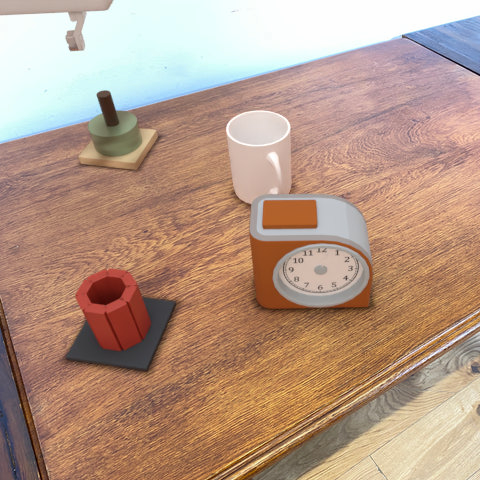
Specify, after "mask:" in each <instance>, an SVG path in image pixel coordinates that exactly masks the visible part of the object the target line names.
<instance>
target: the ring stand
mask: <svg viewBox="0 0 480 480" xmlns="http://www.w3.org/2000/svg"><path fill="white" fill-rule="evenodd" d="M95 96H96V98H97V101H98V105H99V107H100V111H101V113H100V114H97V115H95V116H94V117H93V118H91V119H90V120H89V122H88V124H87V130H88V133H89V135H90V138H91V140H90V141H89V143H88V144H87V145H86V146H85V148H83V150H82V152H81V153H80V154H79V155H78V160H79V162H80V164H81V165H88V166H97V167H106V168H116V169H124V170H132V171H133V170H134V171H137V170H138V169H139V168H140V166H141V165H142V163H143V161H144V160H145V158H147V155H148V154H149V153H150V151H151V149H152V148H153V146H154V144H155V143H156V141H157V140H158V138H159V134H158V130H157V129H152V128H143V127H142V128H141V127H140V125H139V122H138V121H139V120H138V118H137V116H136V115H135V114H134V113H132V112H130V111H126V110H117V109H116V106H115V103H114V99H113V96H112V93H111V91H110V90H108V89H107V90H106V89H105V90H100V91H98V92H97V93H96V95H95Z"/></svg>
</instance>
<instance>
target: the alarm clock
mask: <svg viewBox="0 0 480 480" xmlns="http://www.w3.org/2000/svg"><path fill="white" fill-rule="evenodd" d="M249 210H250V211H249V221H248V222H249V223H248V224H249V225H248V235H249V243H250V252H251V253H250V254H251V259H252V260H251V262H252V271H253V281H254V290H255V298H256V302H257V303H258V304H259V305H260V306H261V307H263V308H264V309H270V310H277V309H278V310H279V309H280V310H281V309H283V310H285V309H286V310H287V309H329V308H330V309H331V308H332V309H333V308H334V309H335V308H368V307H369V306H370V300H371V292H372V287H373V285H372V284H373V277H374V266H373V265H374V263H373V259H372V258H373V257H372V252H371V245H370V244H371V243H370V239H369V231H368V226H367V221H366V218H365V216H364V214H363V212H362V211H361V210H360V209H359V208H358V207H357V205H355V203H353V202H351V201H350V200H348V199H346V198H344V197H341V196H337V195H335V194H329V193H289V194H265V195H261V196H259V197H257V198H255V199H254V200H253V202H252V204H250V209H249Z"/></svg>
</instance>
